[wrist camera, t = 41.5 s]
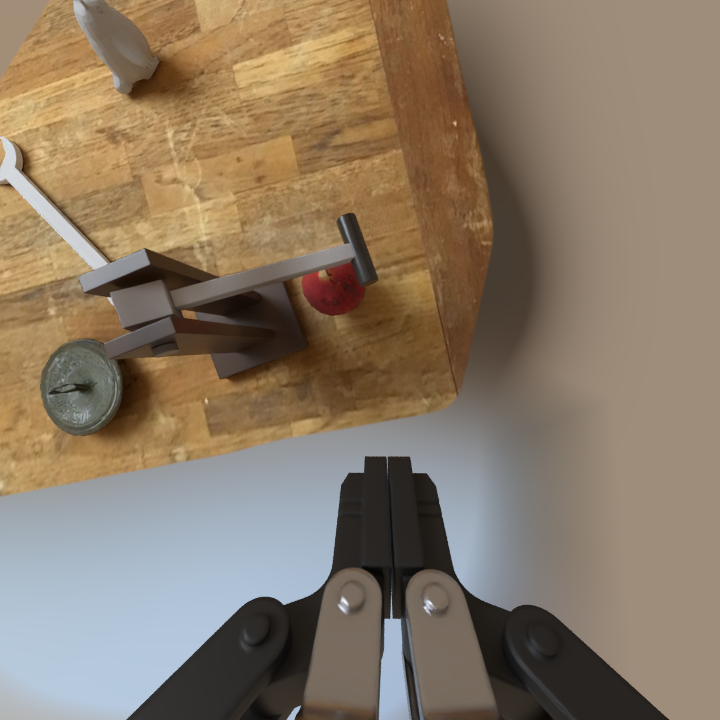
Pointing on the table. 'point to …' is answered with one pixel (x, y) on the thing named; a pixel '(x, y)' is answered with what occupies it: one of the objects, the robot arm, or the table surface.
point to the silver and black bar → (242, 280)
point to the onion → (333, 290)
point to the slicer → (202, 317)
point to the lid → (81, 387)
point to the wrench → (47, 207)
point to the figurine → (116, 43)
